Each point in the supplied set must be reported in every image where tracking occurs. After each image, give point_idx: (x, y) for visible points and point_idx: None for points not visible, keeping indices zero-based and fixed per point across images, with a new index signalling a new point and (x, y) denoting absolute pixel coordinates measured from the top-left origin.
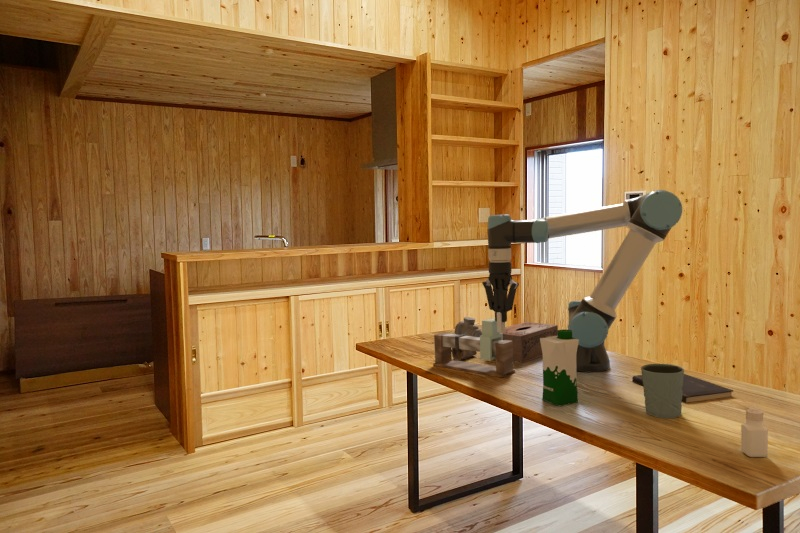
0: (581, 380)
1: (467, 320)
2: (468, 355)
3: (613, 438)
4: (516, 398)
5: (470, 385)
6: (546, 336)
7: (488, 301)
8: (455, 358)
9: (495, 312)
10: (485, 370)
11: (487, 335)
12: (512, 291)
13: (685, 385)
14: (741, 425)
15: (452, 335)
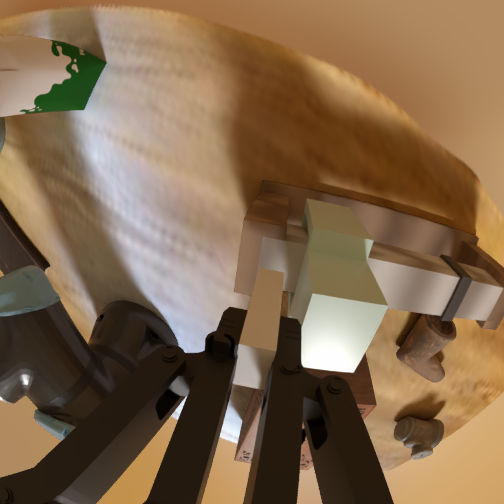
0: (96, 239)
1: (425, 449)
2: (412, 330)
3: (25, 18)
4: (154, 34)
5: (313, 66)
6: (244, 431)
7: (362, 436)
8: None
9: (294, 362)
10: None
11: (337, 256)
12: (44, 461)
13: (2, 245)
14: None
15: (478, 300)
